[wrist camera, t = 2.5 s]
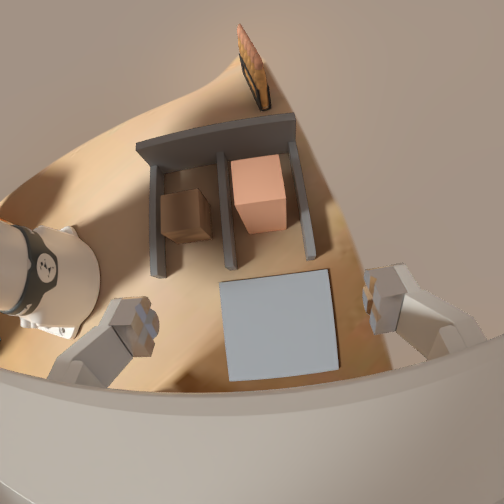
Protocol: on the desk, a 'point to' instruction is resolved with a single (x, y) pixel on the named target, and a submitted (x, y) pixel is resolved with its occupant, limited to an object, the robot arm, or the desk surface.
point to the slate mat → (279, 326)
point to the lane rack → (221, 172)
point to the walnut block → (186, 217)
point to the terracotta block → (259, 193)
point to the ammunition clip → (253, 70)
